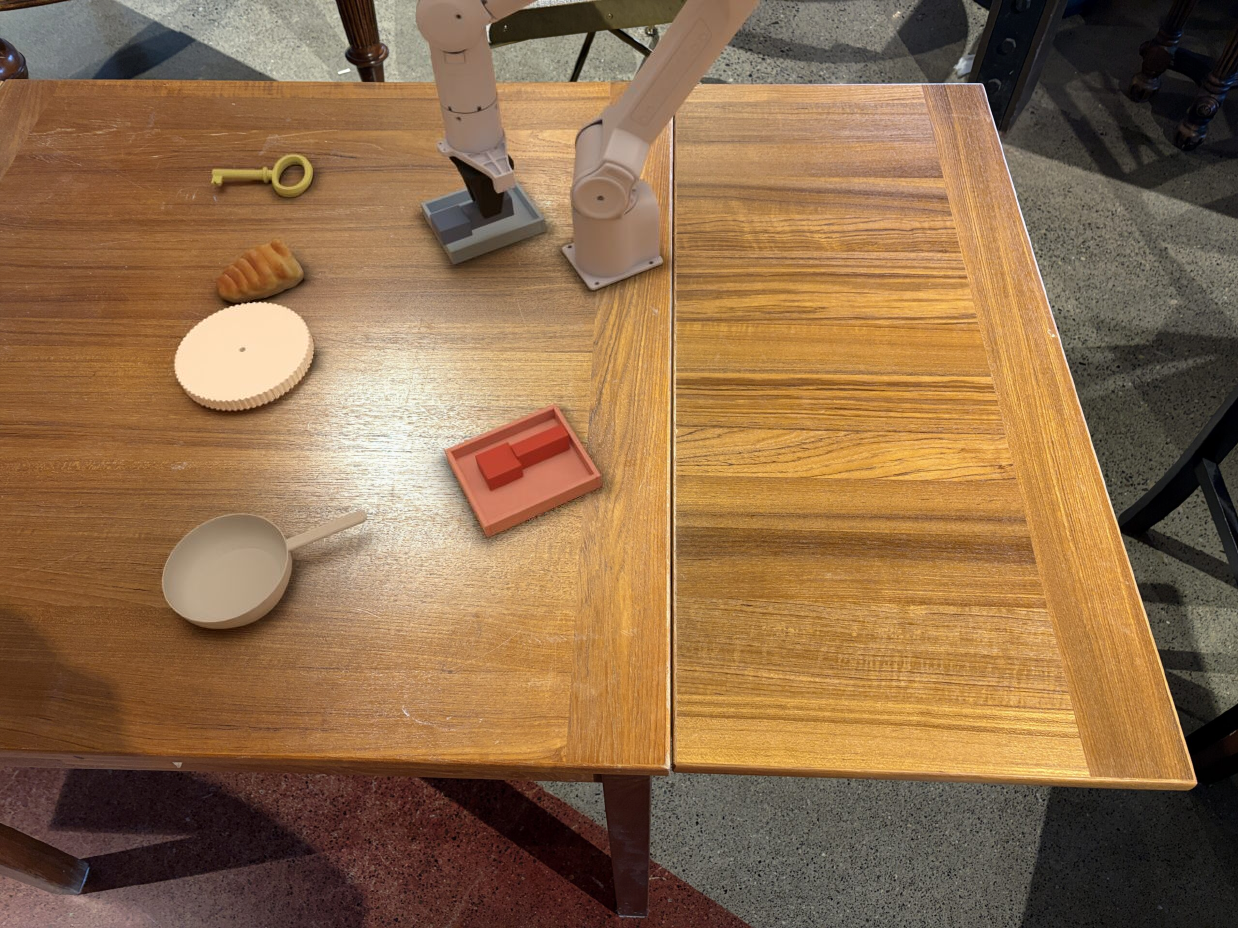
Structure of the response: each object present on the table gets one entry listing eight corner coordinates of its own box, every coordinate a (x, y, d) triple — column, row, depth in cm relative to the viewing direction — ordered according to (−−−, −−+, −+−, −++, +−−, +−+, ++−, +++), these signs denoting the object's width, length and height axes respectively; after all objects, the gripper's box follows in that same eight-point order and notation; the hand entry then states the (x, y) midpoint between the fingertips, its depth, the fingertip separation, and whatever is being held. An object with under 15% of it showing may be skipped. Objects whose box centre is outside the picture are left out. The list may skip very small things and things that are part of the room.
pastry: (236, 318, 100) (223, 293, 97) (211, 286, 103) (197, 261, 100) (311, 280, 103) (300, 255, 100) (284, 250, 107) (273, 225, 103)
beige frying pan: (171, 557, 83) (153, 536, 79) (362, 490, 86) (351, 468, 83) (188, 658, 77) (168, 639, 74) (391, 581, 81) (381, 560, 78)
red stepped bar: (559, 432, 89) (557, 417, 88) (573, 455, 88) (572, 440, 86) (477, 467, 87) (474, 453, 85) (490, 491, 86) (487, 477, 84)
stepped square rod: (505, 203, 101) (503, 185, 99) (517, 219, 100) (515, 202, 98) (432, 229, 99) (428, 211, 97) (443, 246, 97) (439, 228, 95)
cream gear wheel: (311, 307, 101) (304, 290, 99) (322, 398, 93) (315, 383, 91) (183, 334, 99) (173, 318, 97) (184, 430, 91) (173, 415, 89)
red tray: (557, 415, 91) (555, 403, 90) (601, 486, 86) (601, 475, 85) (447, 461, 88) (444, 449, 87) (487, 538, 83) (484, 527, 82)
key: (213, 183, 114) (206, 168, 112) (309, 158, 117) (304, 144, 115) (221, 217, 110) (214, 203, 109) (320, 191, 113) (315, 177, 111)
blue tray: (512, 185, 113) (510, 172, 111) (546, 231, 107) (544, 218, 106) (423, 215, 110) (420, 203, 108) (453, 265, 104) (450, 252, 103)
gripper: (403, 72, 90) (430, 183, 101) (459, 148, 83) (480, 260, 94) (468, 52, 92) (487, 164, 103) (527, 125, 85) (541, 237, 96)
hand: (487, 208), depth 99 cm, fingers closed on stepped square rod, 1 cm apart
